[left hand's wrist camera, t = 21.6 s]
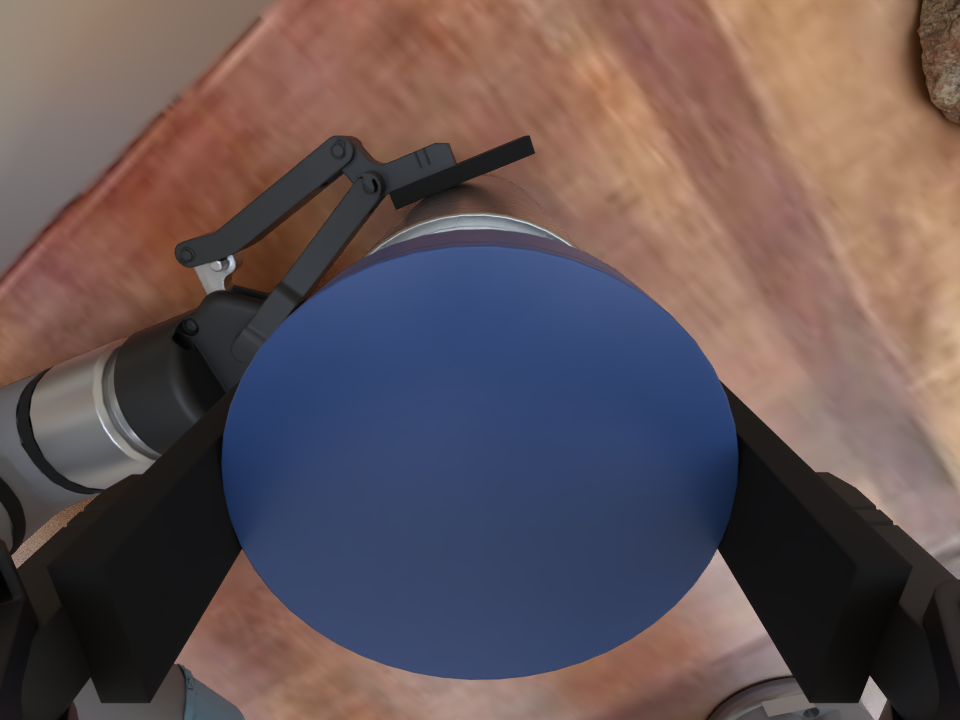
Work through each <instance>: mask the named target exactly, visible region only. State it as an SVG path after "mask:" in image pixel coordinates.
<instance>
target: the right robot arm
mask: <svg viewBox="0 0 960 720" xmlns="http://www.w3.org/2000/svg"><path fill="white" fill-rule="evenodd" d="M532 154H535V151H534V148H533V145H532V142H531V139H530V136H523V137H521V138H518V139H516V140H513V141H511V142H508V143H506V144H504V145H501V146H499V147H496V148H494V149H491V150H489V151H487V152H484V153H482V154H479V155H477V156H474V157H472V158H469V159H467V160H465V161H462V162H460V163H456V160H455V157H454V155H453V152H452V149H451V147H450V144H449V143H434V144H432V145H430V146H427V147H425V148H423V149H420V150H418V151H415V152H413V153H411V154H408V155H406V156H403V157H401V158H399V159H396V160H394V161H391V162H389V163H380V162H378V161H376V160H375V159H374V158H373V157H372V156H371V155H370V154H369V153H368V152H367V151H366V150H365V148H364V147H363V145H362V143H361V142H360V141H359V140H358V139H357V138H355V137H353V136H333V137H331V138H329V139H328V140H327V141H325V142H324V143H323V144H322V145H320V146H319V147H318V148H317V149H316V150H314V151H313V152H312V153H311V154H310V155H308V156H307V157H306V158H305V159H304V160H302V161H301V162H300V163H299V164H297V165H296V166H295V167H294V168H293V169H291V170H290V171H289V172H288V173H287V174H285V175H284V176H283V177H282V178H281V179H279V180H278V181H277V182H276V183H274V184H273V185H272V186H271V187H270V188H268V189H267V190H266V191H265V192H264V193H262V194H261V195H260V196H259V197H258V198H256V199H255V200H254V201H253V202H251V203H250V204H249V205H248V206H247V207H245V208H244V209H243V210H242V211H241V212H239V213H238V214H237V215H236V216H235V217H233V218H232V219H231V220H230V221H228V222H227V223H226V224H225V225H224V226H222V227H221V228H220V229H219V230H217V231H214V232H211V233H207V234H204V235H201V236H198V237H195V238H192V239H189V240H186V241H184V242H181V243H179V244H178V245H177V246H176V248H175V256H176V259H177V260H178V262H179V263H180V264H182V265H183V266H185V267H189V268H190V267H194V269H195V271H196V273H197V275H198V277H199V279H200V281H201V283H202V285H203V287H204V289H205V291H206V294H207V296H206V297H205V298H204V299H203V301H202V302H201V304H200V305H199V306H198V308H196V309H194V310H191V311H189V312H186V313H184V314H181V315H179V316H176V317H174V318H171V319H169V320H166V321H164V322H161V323H159V324H156V325H154V326H151V327H149V328H146V329H144V330H141V331H139V332H137V333H134V334H133V335H132V336H130V337H129V338H121V339H119V340H116V341H114V342H111V343H109V344H106V345H104V346H101V347H99V348H96V349H94V350H91V351H89V352H86V353H84V354H81V355H79V356H76V357H74V358H71V359H69V360H66V361H64V362H61V363H59V364H57V365H55V366H53V367H51V368H49V369H46V370H44V371H43V372H40V373H38V374H35V375H32V376H30V377H27V378H24V379H22V380H19V381H17V382H14V383H11V384H9V385H6V386H3V387H1V388H0V539H1V540H3V541H5V543H6V546H7V548H8V550H9V553H10V555H12V554H13V553H15V552H16V551H17V549H18V548H19V547H20V545H21V544H23V543H24V542H25V541H26V540H27V539H28V538H29V537H30V536H32V535H33V534H34V533H35V532H36V531H37V530H38V529H39V528H41V527H42V526H43V525H44V524H45V523H46V522H47V521H48V520H50V519H51V518H52V517H53V516H54V515H56V514H57V513H59V512H60V511H62V510H64V509H65V508H67V507H69V506H71V505H74V504H76V503H79V502H82V501H85V500H87V499H90V498H93V497H95V496H98V495H99V494H100V493H101V492H102V491H103V490H105V489H106V488H108V487H110V486H112V485H114V484H115V483H117V482H119V481H121V480H122V479H124V478H126V477H128V476H129V475H131V474H143V473H144V472H145V471H146V470H147V469H148V468H149V467H150V466H151V465H152V464H153V463H154V462H155V461H157V460H158V459H159V458H160V457H161V456H162V455H163V454H164V453H165V452H166V451H167V450H168V449H169V448H170V447H171V446H172V445H173V444H174V443H175V442H176V441H177V440H178V439H179V438H180V437H181V436H182V435H184V434H185V433H186V432H187V431H188V430H189V429H190V428H191V427H192V426H193V425H194V424H195V423H196V422H197V421H198V420H199V419H200V418H201V417H202V416H203V415H204V414H205V413H206V412H207V411H208V410H209V409H211V408H212V407H213V406H214V405H215V404H216V403H217V402H218V401H219V400H220V399H221V398H222V397H223V396H224V395H225V394H226V393H227V392H228V391H229V390H230V389H231V388H232V387H233V386H234V385H235V384H237V383H238V382H239V381H240V380H241V378H242V376H243V374H244V372H245V371H246V369H247V368H248V366H249V364H250V363H251V361H252V359H253V358H254V356H255V355H256V353H257V351H258V350H259V348H260V347H261V346H262V345H263V343H264V342H265V341H266V340H267V339H268V338H269V336H270V335H271V334H272V333H273V332H274V331H275V329H276V328H277V327H278V326H279V325H280V324H281V322H283V321H284V320H285V319H286V318H287V317H288V316H289V315H291V314H292V313H293V312H294V311H295V310H296V309H297V308H299V307H300V306H301V305H302V304H303V303H304V302H305V301H306V300H307V298H308V297H309V296H310V294H311V293H312V292H313V291H314V289H315V288H316V286H317V284H318V283H319V282H320V280H321V279H322V278H323V276H324V275H325V274H326V273H327V271H328V270H329V269H330V267H331V266H332V265H333V264H334V262H335V261H336V260H337V258H338V257H339V256H340V254H341V253H342V252H343V251H344V249H345V248H346V247H347V245H348V244H349V243H350V242H351V240H352V239H353V238H354V236H355V235H356V234H357V232H358V231H359V230H360V229H361V227H362V226H363V225H364V223H365V222H366V221H367V220H368V218H369V217H370V216H371V214H372V213H373V212H374V210H375V209H376V208H377V207H378V205H379V204H380V203H381V201H382V200H383V199H384V198H385V196H386V195H387V194H390V196H391V199H392V201H393V203H394V206H395V208H396V209H399V208H401V207H404V206H406V205H409V204H411V203H414V202H416V201H419V200H421V199H423V198H426V197H428V196H431V195H433V194H436V193H438V192H441V191H443V190H446V189H448V188H451V187H453V186H456V185H458V184H461V183H463V182H465V181H468V180H470V179H473V178H475V177H478V176H480V175H483V174H485V173H488V172H490V171H493V170H495V169H498V168H500V167H502V166H505V165H507V164H510V163H512V162H515V161H517V160H520V159H522V158H525V157H527V156H530V155H532ZM343 174H345V175H346V176H347V177H348V178H349V179H350V180H351V181H352V183H353V186H352V187H351V188H350V190H349V191H348V192H347V194H346V195H345V196H344V198H343V199H342V200H341V202H340V203H339V204H338V206H337V207H336V209H335V210H334V211H333V213H332V214H331V215H330V217H329V218H328V219H327V221H326V222H325V223H324V225H323V226H322V227H321V229H320V230H319V231H318V233H317V234H316V235H315V237H314V238H313V239H312V241H311V242H310V243H309V245H308V246H307V248H306V249H305V250H304V252H303V253H302V254H301V256H300V257H299V258H298V260H297V261H296V262H295V264H294V265H293V266H292V268H291V269H290V270H289V272H288V273H287V274H286V276H285V277H284V278H283V280H282V281H281V282H280V283H279V284H278V285H277V286H276V287H275V289H274V290H273V291H272V292H271V294H269V293H265V292H260V291H256V290H252V289H248V288H244V287H240V286H236V285H233V283H232V275H233V273H234V272H235V271H236V270H238V269H239V268H241V266H242V265H243V254H242V253H241V250H243V249H246V248H248V247H250V246H252V245H254V244H255V243H257V242H258V241H260V240H261V239H263V238H264V237H265V236H266V235H268V234H269V233H270V232H271V231H273V230H274V229H275V228H276V227H278V226H279V225H280V224H281V223H283V222H284V221H285V220H286V219H288V218H289V217H290V216H291V215H293V214H294V213H295V212H296V211H298V210H299V209H300V208H301V207H303V206H304V205H305V204H306V203H308V202H309V201H310V200H311V199H313V198H314V197H315V196H316V195H318V194H319V193H320V192H321V191H323V190H324V189H325V188H326V187H328V186H329V185H330V184H331V183H333V182H334V181H335V180H336V179H338V178H339V177H340V176H341V175H343ZM73 701H74V704H75V706H76V708H77V712H78V718H79V720H245V719H244V716H243V714H242V713H241V711H240V710H239V709H238V708H237V707H236V706H235V705H233V704H232V703H230V702H229V701H228V700H226V699H225V698H223V697H222V696H220V695H219V694H217V693H216V692H214V691H213V690H211V689H210V688H209V687H207V686H206V685H204V684H203V683H201V682H200V681H198V680H197V679H195V678H194V677H193V676H192V673H191V671H189V670H187V669H186V668H185V667H184V666H183V665H180V664H173V665H172V667H171V669H170V671H169V672H168V674H167V676H166V677H165V679H164V681H163V682H162V684H161V686H160V687H159V689H158V691H157V692H156V694H155V696H154V697H153V699H152V701H151V702H150V703H101V702H100V699H99V697H98V694H97V692H96V689H95V687H94V684H93V682H92V679H91V677H90V679H89V680H88V681H87V683H86V684H85V686H84V687H83V688H82V690H81V691H80V692H79V694H78V695H77V696H76V698H75V699H74V700H73Z"/></svg>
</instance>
